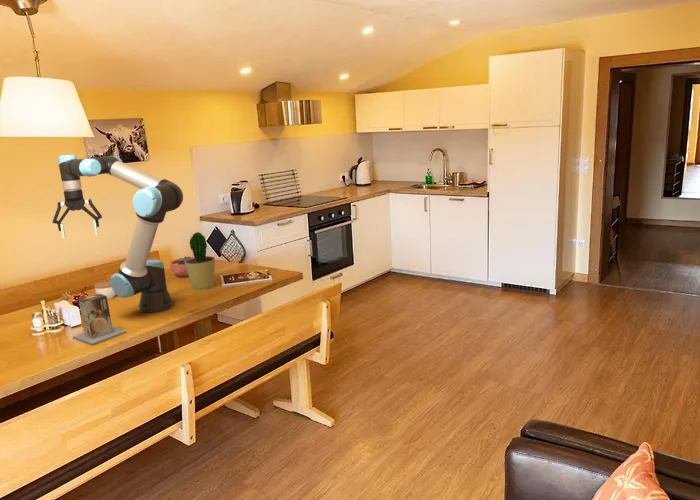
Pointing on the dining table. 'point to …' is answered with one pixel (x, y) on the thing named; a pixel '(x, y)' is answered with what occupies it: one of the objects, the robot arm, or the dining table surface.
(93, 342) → the mat
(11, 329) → the dining table surface
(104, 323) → the coffee box
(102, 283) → the lidded jar
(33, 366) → the dining table surface
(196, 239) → the potted cactus
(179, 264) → the cell model
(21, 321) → the dining table surface
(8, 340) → the dining table surface
